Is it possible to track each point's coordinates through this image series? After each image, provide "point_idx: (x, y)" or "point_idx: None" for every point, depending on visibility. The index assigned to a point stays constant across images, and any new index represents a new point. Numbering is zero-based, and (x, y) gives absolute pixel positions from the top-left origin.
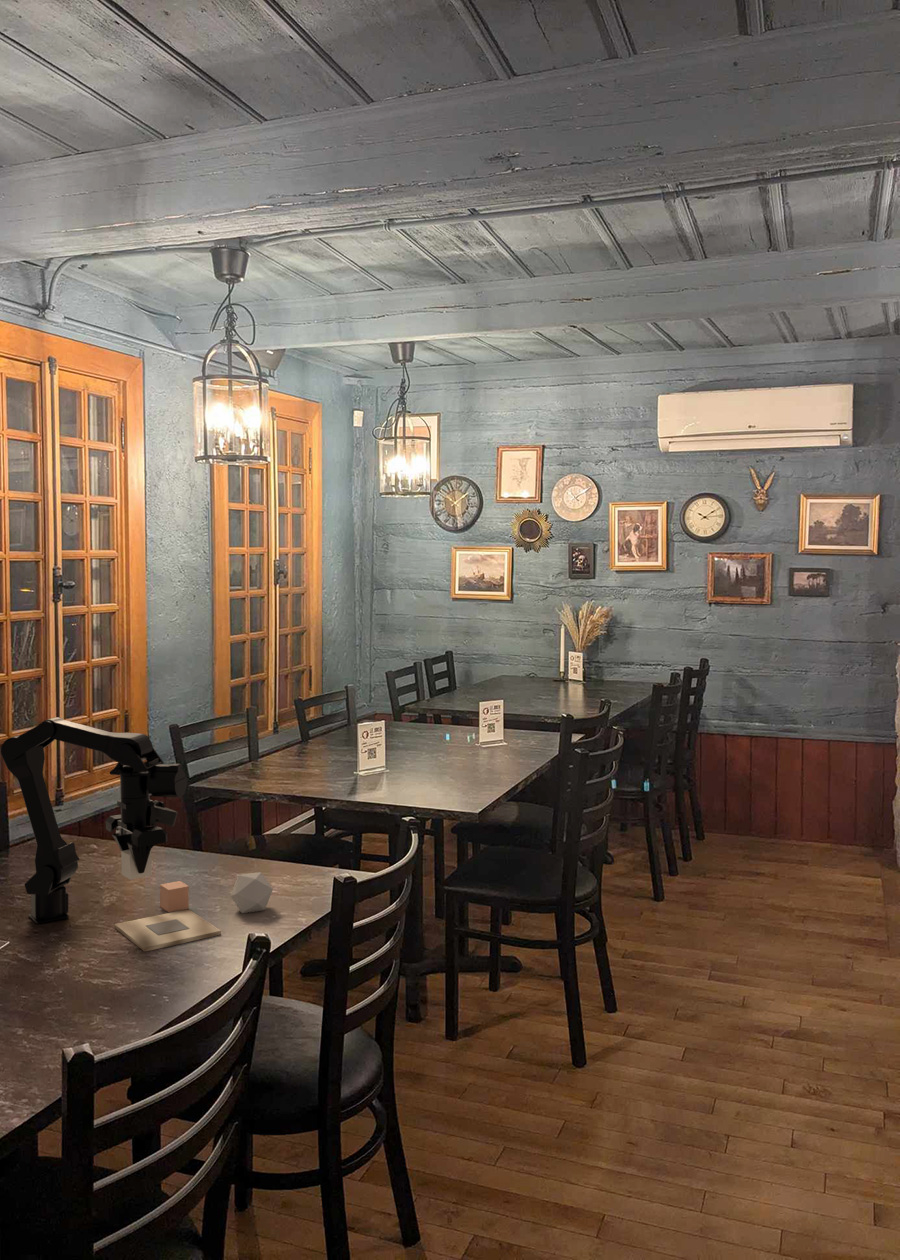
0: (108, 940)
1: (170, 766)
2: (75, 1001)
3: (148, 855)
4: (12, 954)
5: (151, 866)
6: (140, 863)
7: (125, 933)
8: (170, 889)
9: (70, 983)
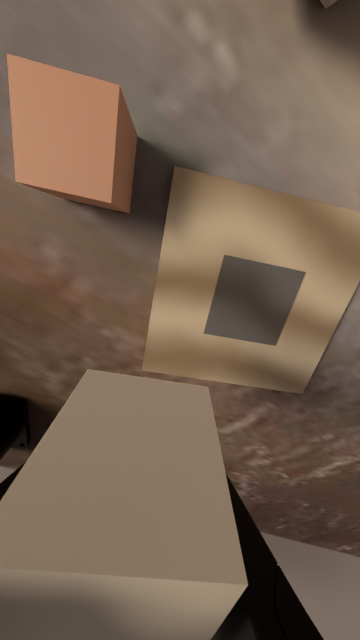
0: None
1: None
2: (344, 504)
3: (297, 600)
4: None
5: (216, 429)
6: None
7: (205, 378)
8: (110, 192)
9: (296, 492)
